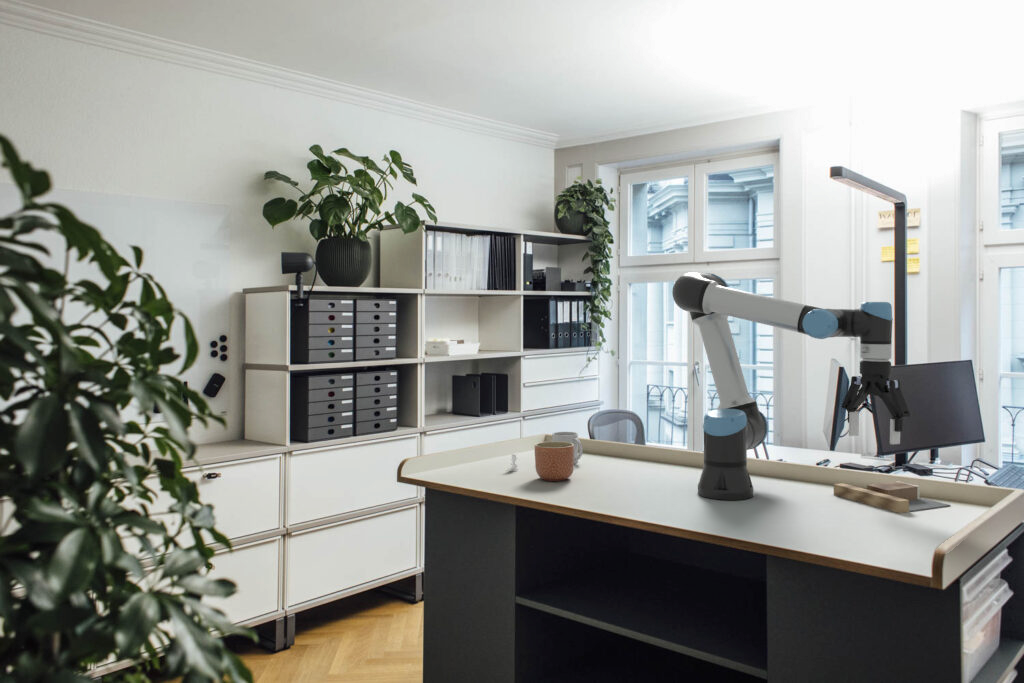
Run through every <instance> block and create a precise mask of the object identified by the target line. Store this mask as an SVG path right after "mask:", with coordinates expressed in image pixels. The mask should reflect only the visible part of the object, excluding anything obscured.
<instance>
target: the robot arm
mask: <svg viewBox="0 0 1024 683" xmlns="http://www.w3.org/2000/svg"><path fill="white" fill-rule="evenodd" d="M671 292H672V299H673V301H674V303H675V304H676V306H677V307H678V308H680V309H681V310H683V311H686V312H689V314H690V319H691V322H692V323H693V324H695V325H696V326H698V328H699V332H700V335H701V339H702V342H703V346H704V349H705V353H706V357H707V361H708V363H709V367H710V372H711V375H712V379H713V382H714V385H715V388H716V392H717V396H718V400H719V405H718V406H717V408H716V409H713V410H710V411H708V412H707V413H705V415H704V416H703V424H702V430H703V468H702V471H701V475H700V478H699V481H698V484H697V494H698V495H699V496H701V497H704V498H707V499H714V500H721V501H722V500H723V501H739V500H746V499H751V498H752V497H754V495H755V494H754V485H753V482H752V479H751V476H750V473H749V471H748V465H747V464H748V463H747V461H748V460H747V459H748V457H747V455H748V454H747V451H749V450H754V449H755V448H757V447H759V446H760V445H761V444H762V443H763V442H765V440H766V438H767V437H768V433H769V422H768V419H767V418H766V415H764V413H763V412H761V411H760V409H759V407H758V404H757V400H756V399H755V398H753V397H752V396H750V395H749V390H748V388H747V385H746V384H747V383H746V380H745V376H744V373H743V370H742V367H741V362H740V359H739V355H738V352H737V349H736V345H735V341H734V338H733V335H732V334H733V333H732V330H731V328H730V324H729V321H728V318H729V317H733V318H737V319H741V320H745V321H750V322H753V323H758V324H763V325H767V326H770V327H774V328H780V329H782V330H787V331H791V332H794V333H795V332H796V333H800V334H802V335H805V336H806V335H807V336H809V337H811V338H814V339H817V340H825V339H827V338H828V339H829V338H836V337H837V338H860V339H859V340H860V341H859V343H860V345H859V346H860V348H859V358H860V359H862V360H860V361H859V374H860V375H854V376H851V378H850V384H849V387H848V389H847V391H846V394H845V397H844V398H843V401H842V404H841V409H844V410H846V411H847V423H848V436H849V437H856V436H857V437H858V436H859V431H860V430H859V428H860V412H859V408H860V406H861V405H862V404H863V403H864V401H865V400H866V399H867V398H868V396H870V395H871V396H875V397H876V396H878V397H879V398H880V399H881V400H882V402H883V403H884V405H885V406H886V408H887V410H888V412H889V413H890V415H891V416H892V417H891V418H890V419H889V420H890V421H889V423H890V424H889V445H900V444H901V432H903V424H904V423H903V420H904V419H907V418H910V416H911V414H910V411H909V409H908V406H907V403H906V401H905V397H904V395H903V392H902V389H901V382H900V380H899V379H893V380H892V379H891V380H890V375H891V374H892V362H891V361H890V360H891V359H892V342H893V341H892V335H893V334H892V333H893V320H894V318H893V307H892V304H891V303H890V302H887V301H862V302H861V304H860V307H859V308H855V309H853V308H852V309H849V308H848V309H847V308H845V309H844V308H821V307H818V306H817V307H816V306H811V305H807V304H803V303H799V302H793V301H789V300H784V299H780V298H777V297H772V296H767V295H762V294H759V293H758V294H757V293H755V292H749V291H746V290H745V291H744V290H740V289H736V288H731V287H730V285H728V283H727V281H726V280H725V279H724V278H722V277H721V276H719V275H716V274H715V273H710V272H704V273H703V272H695V271H693V272H687V273H684V274H682V275H681V276H679V277H678V278H677V280H676V281H674V284H673V286H672V291H671Z"/></svg>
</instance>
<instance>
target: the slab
mask: <svg viewBox="0 0 1024 683" xmlns="http://www.w3.org/2000/svg"><path fill="white" fill-rule="evenodd" d="M866 489H867V490H871V491H875V492H879V493H883V494H887V495H890V496H894V497H898V498H902V499H906V500H909V501H910V500H917V499H920V496H921V494H920V490H921V489H920V486H919V485H916V484H911V483H907V482H903V481H898V480H896V481H889V482H881V483H872V484H866Z"/></svg>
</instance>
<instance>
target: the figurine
mask: <svg viewBox="0 0 1024 683" xmlns="http://www.w3.org/2000/svg"><path fill="white" fill-rule="evenodd" d="M517 459H518V458H517V454H516V453H512V454H511V462H510V465H511V467H510V468H507V469H506V471H507V472H508V473H509V472H518V470H519V468H518V464H517Z"/></svg>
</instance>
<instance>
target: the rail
mask: <svg viewBox="0 0 1024 683" xmlns="http://www.w3.org/2000/svg"><path fill="white" fill-rule="evenodd" d="M833 495H834V496H837V497H839V498H840V497H841V498H844V499H847V500H850V501H855V502H859V503H862V504H865V505H869V506H872V507H877V508H879V509H883V510H887V511H891V512H894V513H898V514H904V513H905V514H906V513H909V500H906V499H902V498H898V497H894V496H890V495H887V494H883V493H879V492H875V491H871V490H867V488H863V487H859V486H855V485H851V484H847V483H843V482H841V483H834V484H833Z"/></svg>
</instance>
